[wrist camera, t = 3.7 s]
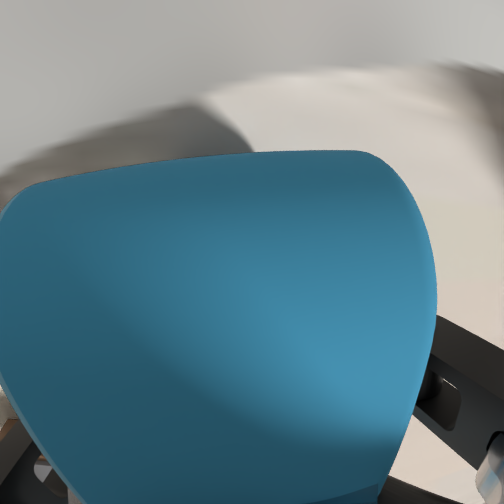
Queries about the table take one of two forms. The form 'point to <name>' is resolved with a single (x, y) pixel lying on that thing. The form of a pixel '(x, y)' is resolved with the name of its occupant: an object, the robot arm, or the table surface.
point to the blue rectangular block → (217, 326)
